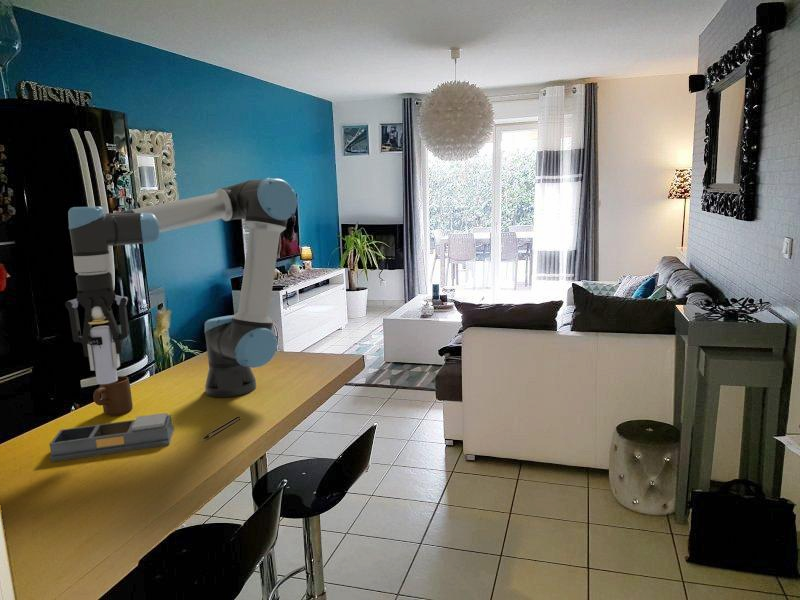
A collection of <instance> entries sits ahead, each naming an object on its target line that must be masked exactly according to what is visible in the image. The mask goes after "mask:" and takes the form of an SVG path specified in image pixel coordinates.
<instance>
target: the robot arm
mask: <svg viewBox="0 0 800 600" xmlns="http://www.w3.org/2000/svg"><path fill="white" fill-rule="evenodd" d="M297 206H298V199H297V194H296V192H295V190H294V189H293V187H292V186H291V185H290V183H288V182H287V181H285V180H284V179H282V178H273V177H267V178H260V179H259V178H258V179H250V180H249V179H248V180H245V181H242V182H239V183H236V184H234V185H230V186H229V185H228V186H225V187H221V188H218V189H216V190H215V192H213V193H209V194H203V195H199V196H194V197H188V198H183V199H179V200H173V201H169V202H163V203H158V204H153V205H148V206H144V207H143V206H142V207H139V208H134V209H130V210H129V209H128V210H123V211H117V212H114V213H113V212H108V213H107V212H106V213H105V211H104V208H103V207H102V206H73V207H70V208H69V210H67V211H68V212H67V214H68V215H67V217H68V220H67V221H68V230H69V235H70V240H71V241H70V243H71V247H72V256H73V267H74V272H75V273H77V274H76V276H75V281H76V287H77V288H76V289H77V295H76V296H75V297H76V298H74V299H69V300H68V301H65V302H64V306H65V308H66V309H67V311H68V316H69V322H70V329H71V334H72V341H73V342H74V343H80V344H81V345H82V348H83V349H82V351H83V355H84V357H85V358H87V357H88V361H89V367H90V368H89V369H90V371H94V372H95V364H94V356H93V348H92V345H89V341H90V340H88V336H89V335H90V336H91V333H90V329H91V328H93V325H89V324H87V323H86V322H88V321H91V319H93V317H92V316H91V309H92V308H93V307H96V306H98V307H101V309H102V312H103V314H104V316H105V318H106V320H110V322H109V323H107V326H109V328H110V330H111V333H112V338H113V341H112V342H111V346H112V354H113V362H114V369H115V368H116V369H119V368H120V367H121V359H120V355H121V354H122V353H123V350H124V347H123V342H122V341H123V340H124V339H126V338H128V336H130V326H129V317H128V316H129V315H128V309H127V306H128V302H129V296H121V295H118V294H117V293H116V292H115V289H114V285H113V284H114V283H113V275H112V273H111V272H110V270H111V268H112V267H111V258H110V251H109V247H113V246H125V245H126V246H127V245H139V244H143V245H146V244H150V243H155V242H156V241H157V240H158V239H159V236H160V233H164V232H169V231H174V230H177V229H182V228H186V227H191V226H196V225H200V224H205V223H208V222H212V221H216V220H217V221H218V220H223V221H224V222H228V221H233V220H234V221H235V220H245V221H244V223H245V225H246V226H247V227H248V229H249V232H248V240H247V245H246V253H245V254H246V255H245V259H244V261H245V262H244V266H243V267H244V268H243V276H242V283H241V290H240V295H239V304H238V311H237V312H236V313H235V314H232V315H225V316H218V317H213V318H210V319H207V320H206V321H205V322H204V337H205V344H206V352H207V354H206V355H207V361H208V371H207V376H206V381H205V385H204V387H205V388H204V389H205V394H206V395H207V396H209V397H212V398H232V397H238V396H241V395H242V396H243V395H245V394H248V393H250V392H252V391H253V390H255V389H256V388H257V379H256V377H255V375H254V372H253V371H252V368H260V367H263V366H265V365H266V364H268V363H269V362H270V361H271V360H273V358H274V356H275V355H276V352H277V350H278V338H277V337H276V336H275V335H276V334H275V333H274V332H273V324H274V321H273V320H272V318H271V317H270V316H269V314H270V307H271V300H272V294H273V292H272V291H273V288H274V287H273V286H274V280H275V279H274V278H275V273H276V272H275V271H276V264H277V256H278V250H279V249H278V248H279V241H280V235H281V233H283V232H284V231H285V230H287V226H288V225H287V224H288V219H290V218H291V217H292V216H293V215H294V214H295V212H296V210H297ZM114 302H116V305H118V314H119V321H120V322H119V323H120V329H119V326H118V323H117V321H116V319H115V316H114V313H113V308H112V305H113V303H114ZM79 304H80V305H81V307H83V308H84V320H83V321H84V322H83V327H82V328H83V329H82V330H81V325H80V317H79V311H78V307H79ZM88 333H89V334H88ZM90 336H89V337H90ZM90 343H91V342H90ZM91 344H92V343H91Z"/></svg>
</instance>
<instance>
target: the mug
mask: <svg viewBox="0 0 800 600" xmlns="http://www.w3.org/2000/svg"><path fill="white" fill-rule="evenodd" d="M117 378H118V380H117V381H116V382H113V383H110V384H99V387H98V388H96V389H95V390H94V392H93V394H92V397H93V402H94V403H95V404H96V405H98V406H102V410H103V413H104V415H106V416H108V417H115V416H120V415H121V416H122V415H124V414H128V413H129V412H131V411H132V410H133V407H134V406H133V405H134V404H133V398H132V390H131V383H130V380H129V377H128V376H124V375H123V376H122V375H119V376H118V375H117Z"/></svg>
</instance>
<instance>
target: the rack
mask: <svg viewBox="0 0 800 600" xmlns="http://www.w3.org/2000/svg"><path fill="white" fill-rule="evenodd" d="M174 430H175V428H174V424H173V420H172V414H169V415H168V412H164V413H163V412H162V413H155V414H148V415H139V416H136V417H135V419H133V420H132V419H131V420H124V421H116V422H110V423H102V424H94V425H87V426H79V427H71V428H65V429H59V431H58V432H57V434H56V435H55V437H54V438H52V440H51V441H50V443H49V449H50V453H51V454H50V457H49V460H50V463H53V462H54V463H55V462H60V461H68V460H74V459H82V458H88V457H89V458H90V457H95V456H96V457H97V456H102V455H109V454H114V453H115V454H116V453H122V452H130V451H136V450H137V451H138V450H143V449H144V450H145V449H151V448H157V447H165V446H170V444H171V440H172V437H173V435H174V434H173V433H174Z"/></svg>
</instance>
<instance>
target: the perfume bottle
mask: <svg viewBox="0 0 800 600" xmlns="http://www.w3.org/2000/svg"><path fill="white" fill-rule="evenodd" d="M91 316H92V317H93V319H91V321H88V322H86V323H87V324H89V325H92V328H91V329H90V333H91V336H90V335H89V336H90V337H89V336H88V340H90V341H89V345H92V348H93V356H94V364H95V370H94V372H95V376H96V384H98V385H100V384H110V383H113V382H116V381H117V380H118V378H117V376H118V371H117V368H115V369H114V362H113V354H112V346H111V342H112V341H113V340H114V338H113V335H112V333H111V330H110V328H109V325H105V324H108V323H109V322H110V320H106V318H105V316H104V314H103V312H102V309H101V307H98V306H96V307H93V308H92V309H91ZM103 324H104V325H103ZM93 325H97V326H94V327H93ZM88 334H89V333H88ZM90 342H91V343H92V344H91V343H90Z"/></svg>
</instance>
